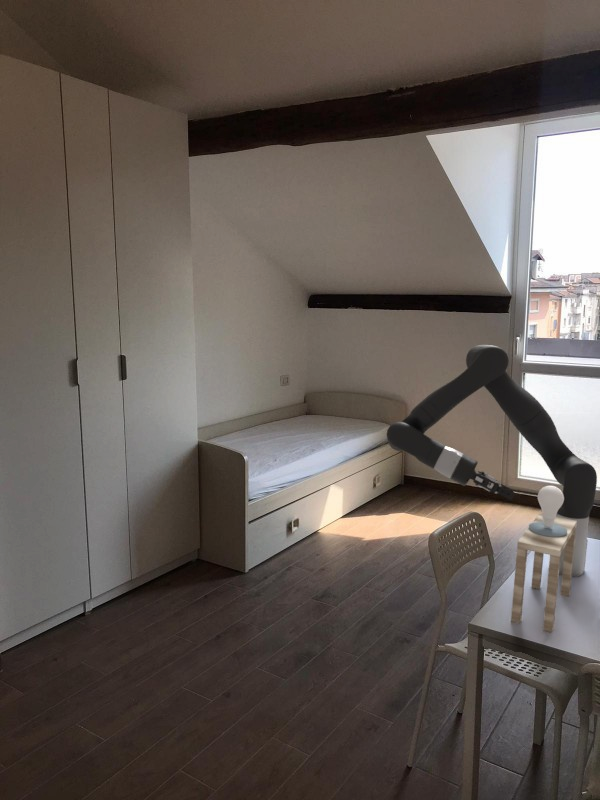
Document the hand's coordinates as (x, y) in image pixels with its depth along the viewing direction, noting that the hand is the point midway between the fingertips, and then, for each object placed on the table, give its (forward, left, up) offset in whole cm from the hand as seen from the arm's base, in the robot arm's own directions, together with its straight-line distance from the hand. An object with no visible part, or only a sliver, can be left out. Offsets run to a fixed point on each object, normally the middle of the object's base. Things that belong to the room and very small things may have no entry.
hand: (512, 495), depth 167 cm
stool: (-2, +9, -27) cm, 29 cm away
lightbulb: (-2, +9, -7) cm, 12 cm away
